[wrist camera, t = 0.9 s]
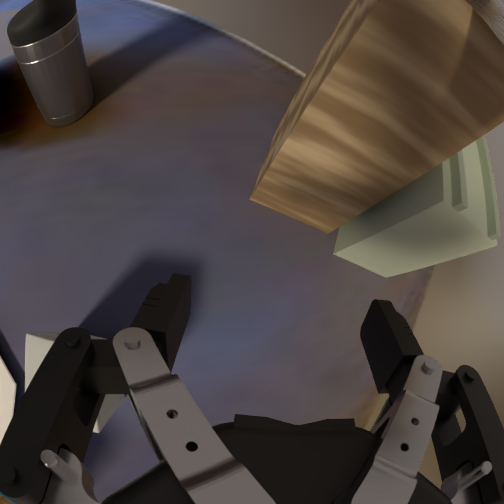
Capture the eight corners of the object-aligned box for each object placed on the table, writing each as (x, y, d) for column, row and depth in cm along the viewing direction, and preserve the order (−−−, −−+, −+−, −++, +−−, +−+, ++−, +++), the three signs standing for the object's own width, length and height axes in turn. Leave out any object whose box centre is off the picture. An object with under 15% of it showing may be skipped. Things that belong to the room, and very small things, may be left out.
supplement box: (129, 340, 31) (102, 351, 19) (125, 399, 29) (100, 437, 17) (73, 328, 29) (24, 330, 17) (70, 386, 27) (24, 412, 16)
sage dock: (385, 277, 41) (505, 242, 21) (333, 253, 40) (453, 195, 19) (398, 174, 47) (482, 114, 27) (354, 148, 46) (434, 70, 25)
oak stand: (327, 233, 40) (557, 83, 7) (249, 199, 39) (421, -57, 5) (345, 154, 45) (494, 7, 11) (279, 122, 43) (396, -68, 10)
